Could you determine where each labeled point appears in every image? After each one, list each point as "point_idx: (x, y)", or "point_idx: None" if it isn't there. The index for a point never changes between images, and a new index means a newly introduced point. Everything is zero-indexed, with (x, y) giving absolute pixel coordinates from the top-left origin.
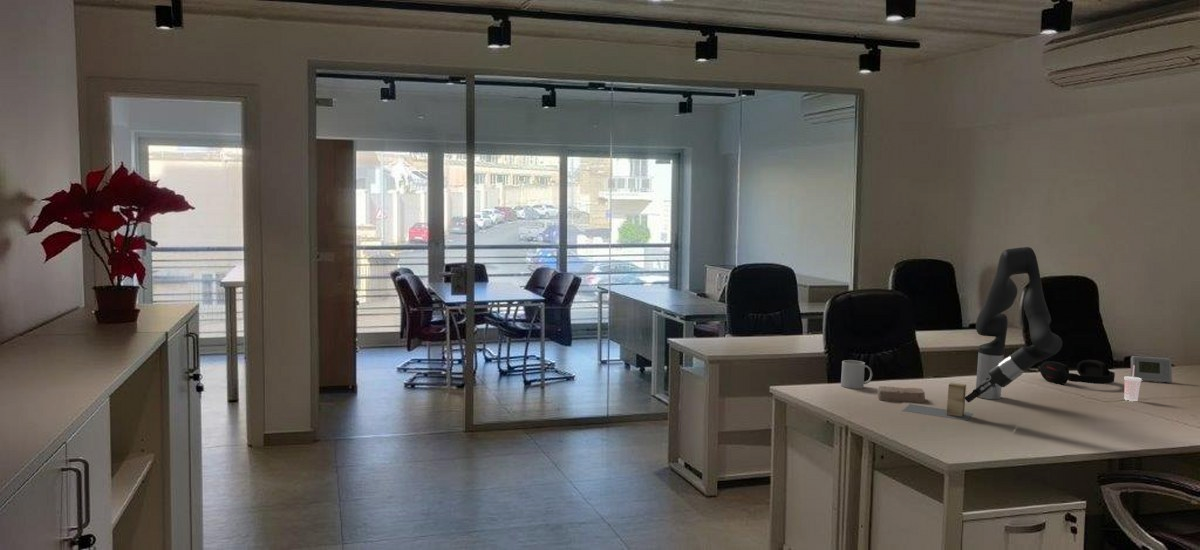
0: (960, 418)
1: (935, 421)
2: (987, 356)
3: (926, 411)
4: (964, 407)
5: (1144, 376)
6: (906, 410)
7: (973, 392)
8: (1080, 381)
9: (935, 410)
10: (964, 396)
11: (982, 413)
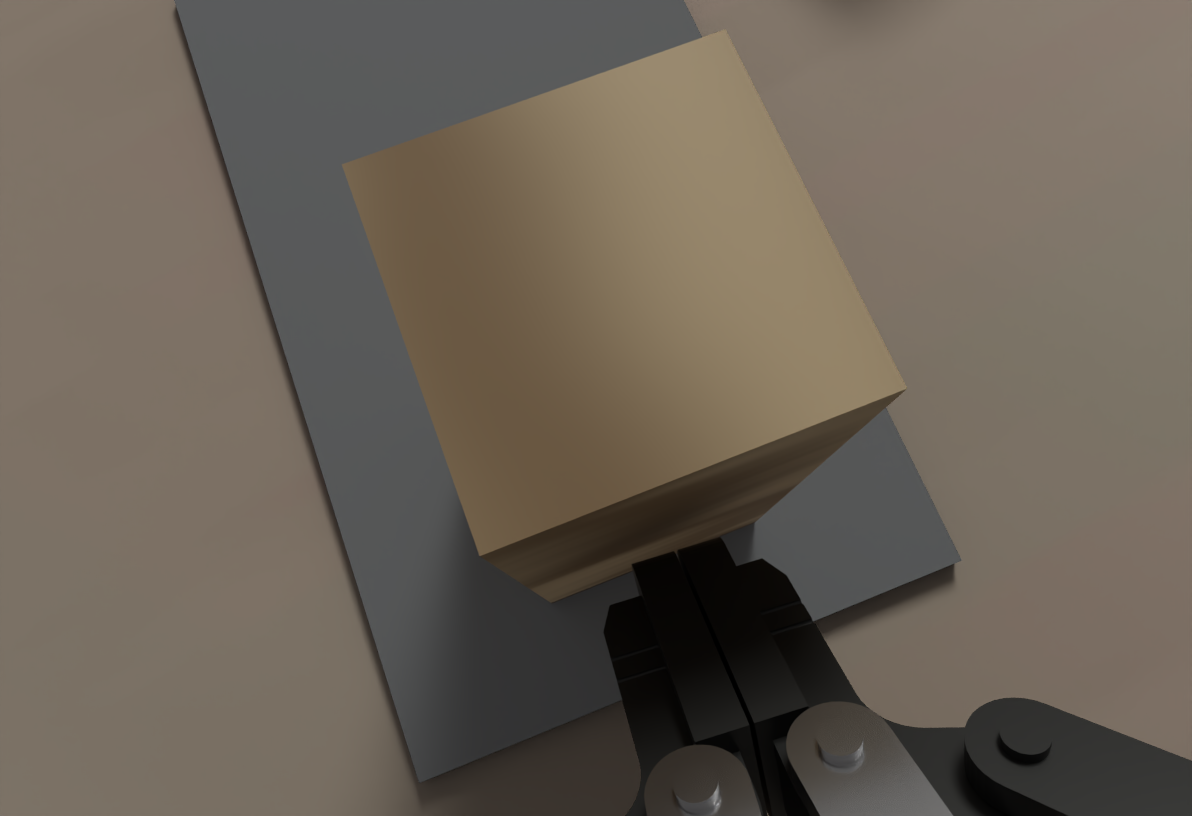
0: (463, 638)
1: (47, 501)
2: None
3: None
4: (772, 505)
5: None
6: (238, 5)
7: (731, 750)
8: None
9: None
10: (709, 508)
11: (1173, 594)
